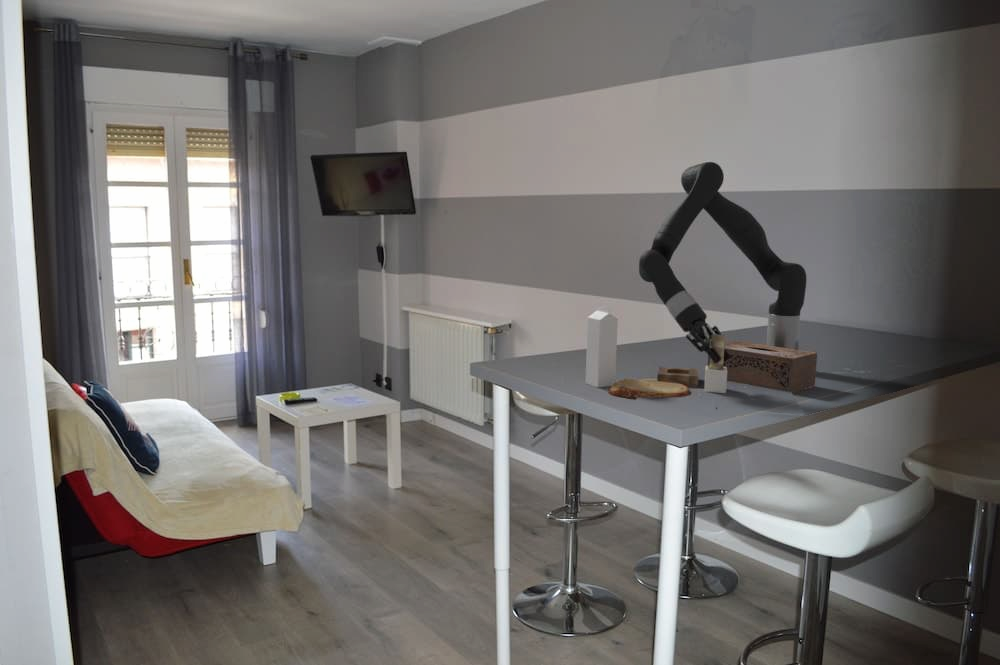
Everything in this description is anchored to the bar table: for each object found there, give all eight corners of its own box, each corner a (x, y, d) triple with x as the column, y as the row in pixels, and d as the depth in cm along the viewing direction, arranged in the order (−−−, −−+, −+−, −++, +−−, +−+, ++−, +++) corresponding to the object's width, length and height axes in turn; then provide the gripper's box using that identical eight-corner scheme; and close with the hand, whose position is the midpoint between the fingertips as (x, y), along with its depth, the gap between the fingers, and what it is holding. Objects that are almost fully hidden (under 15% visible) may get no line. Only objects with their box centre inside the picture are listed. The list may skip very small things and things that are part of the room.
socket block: (697, 380, 229) (697, 368, 228) (697, 389, 218) (698, 376, 218) (658, 378, 232) (659, 366, 231) (657, 386, 221) (657, 374, 220)
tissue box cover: (706, 379, 233) (708, 345, 231) (732, 373, 243) (734, 340, 241) (790, 395, 214) (792, 358, 213) (814, 387, 224) (817, 352, 223)
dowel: (721, 389, 216) (724, 334, 214) (721, 391, 213) (725, 336, 211) (708, 388, 217) (711, 333, 215) (708, 390, 214) (711, 335, 211)
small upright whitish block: (725, 390, 217) (726, 366, 216) (725, 395, 212) (727, 370, 211) (704, 389, 218) (705, 365, 217) (704, 393, 213) (705, 369, 212)
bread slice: (696, 395, 212) (697, 381, 212) (660, 407, 199) (660, 392, 199) (639, 384, 225) (640, 371, 224) (601, 394, 212) (602, 381, 211)
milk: (597, 388, 218) (600, 308, 214) (585, 383, 223) (587, 305, 220) (615, 385, 221) (618, 307, 217) (602, 381, 226) (605, 304, 223)
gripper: (681, 304, 211) (720, 355, 205) (708, 300, 222) (745, 348, 215) (663, 321, 216) (700, 372, 209) (690, 317, 226) (726, 365, 220)
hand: (723, 360), depth 212 cm, fingers open, 4 cm apart
